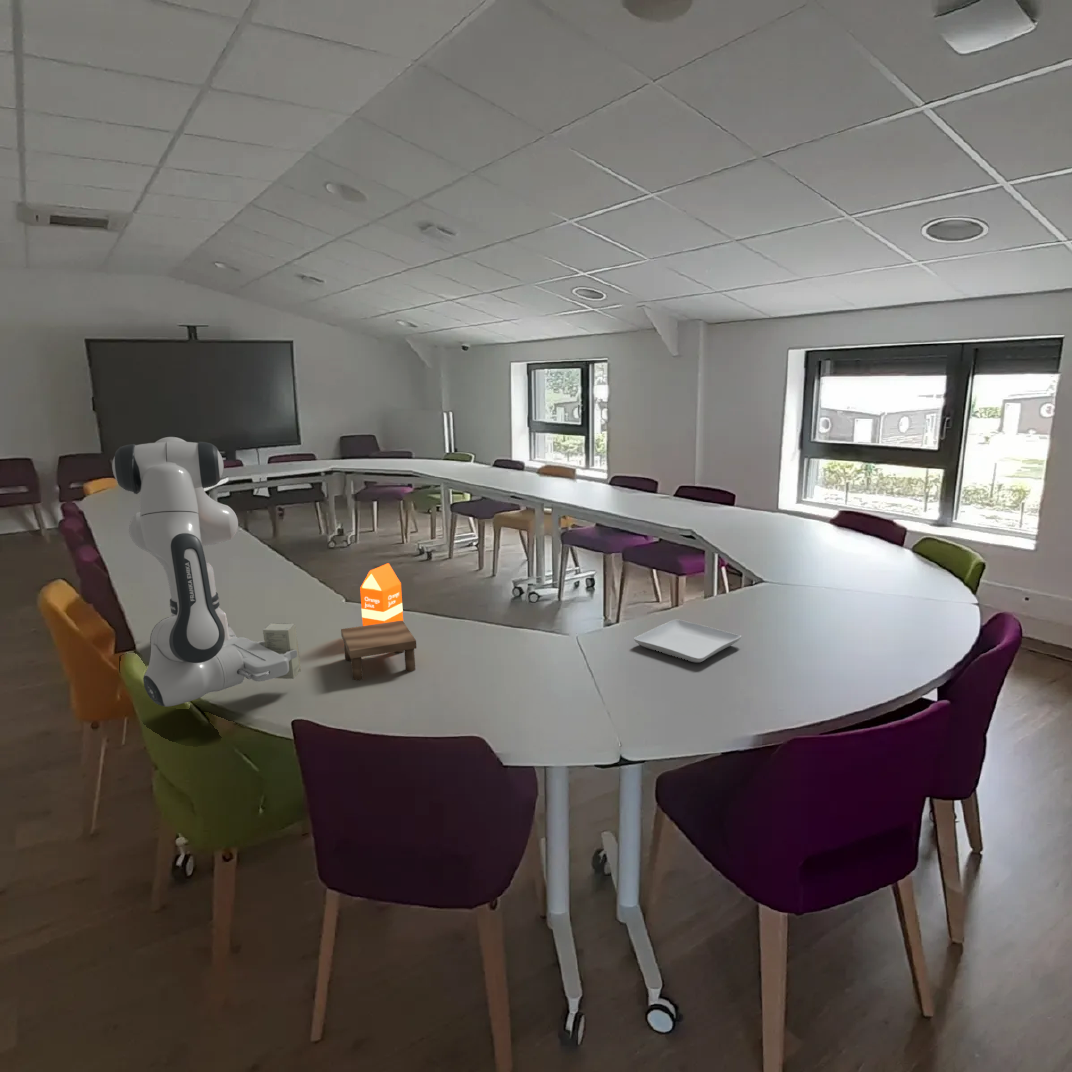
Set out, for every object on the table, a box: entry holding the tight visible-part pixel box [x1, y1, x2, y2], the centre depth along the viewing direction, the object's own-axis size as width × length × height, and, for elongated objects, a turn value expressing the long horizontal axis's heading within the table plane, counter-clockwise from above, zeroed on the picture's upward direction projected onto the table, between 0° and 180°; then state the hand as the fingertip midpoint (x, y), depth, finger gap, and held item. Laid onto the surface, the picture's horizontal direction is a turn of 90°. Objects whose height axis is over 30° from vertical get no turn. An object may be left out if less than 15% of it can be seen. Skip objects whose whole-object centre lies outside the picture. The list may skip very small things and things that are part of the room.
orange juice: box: [359, 562, 404, 626], centre depth 199 cm, size 8×9×20 cm
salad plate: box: [633, 618, 742, 663], centre depth 189 cm, size 21×21×3 cm
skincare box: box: [262, 622, 301, 680], centre depth 163 cm, size 6×4×12 cm
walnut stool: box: [340, 620, 417, 682], centre depth 179 cm, size 16×16×8 cm
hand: (285, 647), depth 164 cm, fingers closed on skincare box, 7 cm apart
